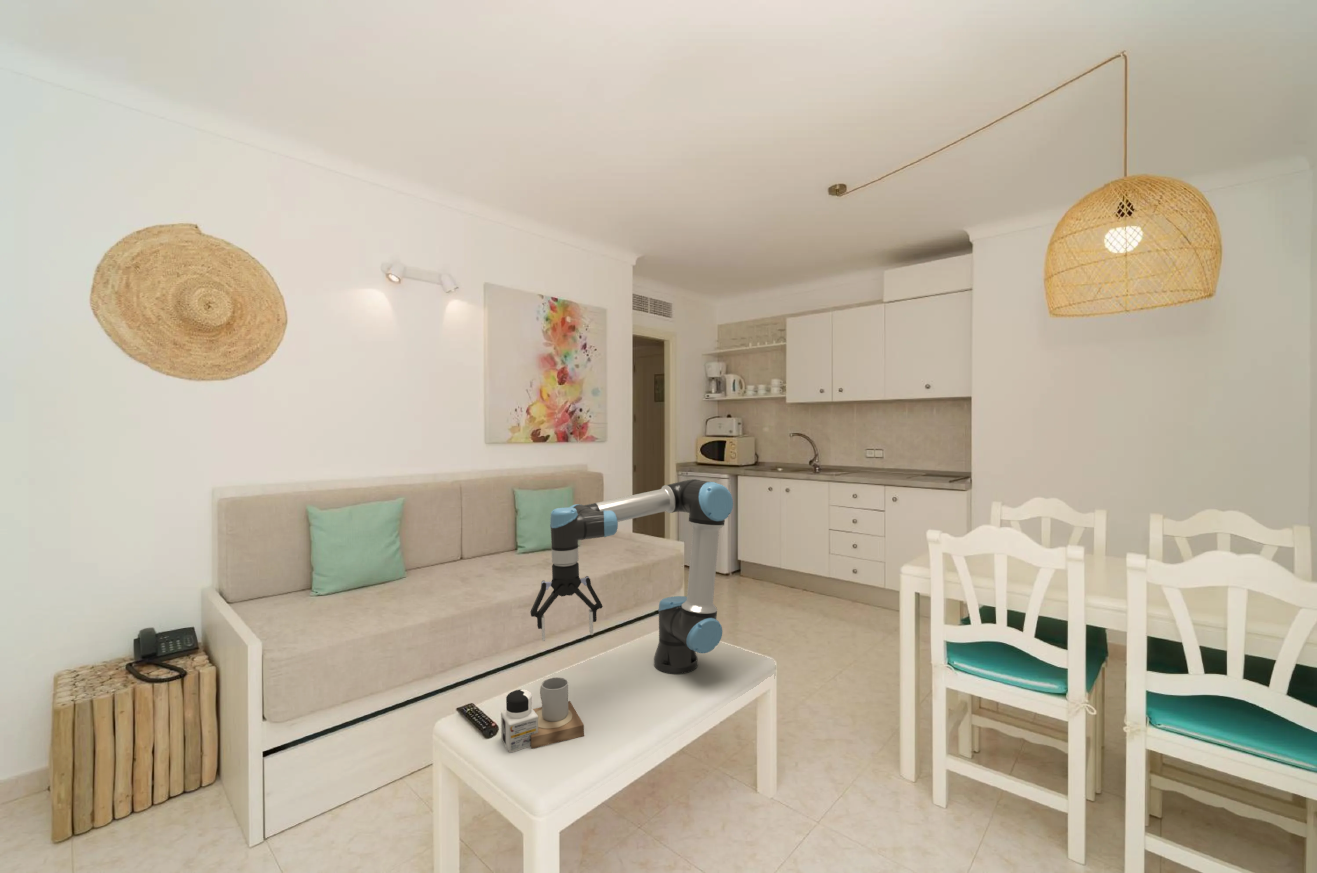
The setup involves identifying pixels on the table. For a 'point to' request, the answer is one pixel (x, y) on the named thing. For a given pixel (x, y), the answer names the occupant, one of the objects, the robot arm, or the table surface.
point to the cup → (554, 699)
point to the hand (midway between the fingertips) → (567, 636)
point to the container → (518, 721)
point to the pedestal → (557, 728)
